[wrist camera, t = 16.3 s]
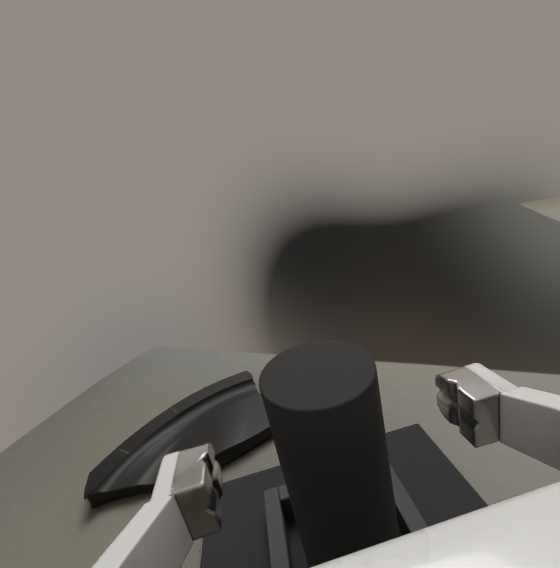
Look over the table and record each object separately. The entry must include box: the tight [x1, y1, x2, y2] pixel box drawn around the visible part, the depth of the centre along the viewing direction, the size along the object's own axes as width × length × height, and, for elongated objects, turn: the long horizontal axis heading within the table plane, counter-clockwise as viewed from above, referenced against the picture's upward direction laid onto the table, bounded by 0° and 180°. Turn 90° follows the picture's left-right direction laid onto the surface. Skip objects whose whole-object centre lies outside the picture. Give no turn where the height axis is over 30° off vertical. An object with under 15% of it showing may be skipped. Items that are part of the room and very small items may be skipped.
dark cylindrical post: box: [259, 340, 400, 568], centre depth 11 cm, size 4×4×10 cm
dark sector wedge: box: [84, 371, 272, 508], centre depth 23 cm, size 8×14×2 cm, turn 114°
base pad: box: [200, 424, 488, 568], centre depth 13 cm, size 14×12×2 cm
